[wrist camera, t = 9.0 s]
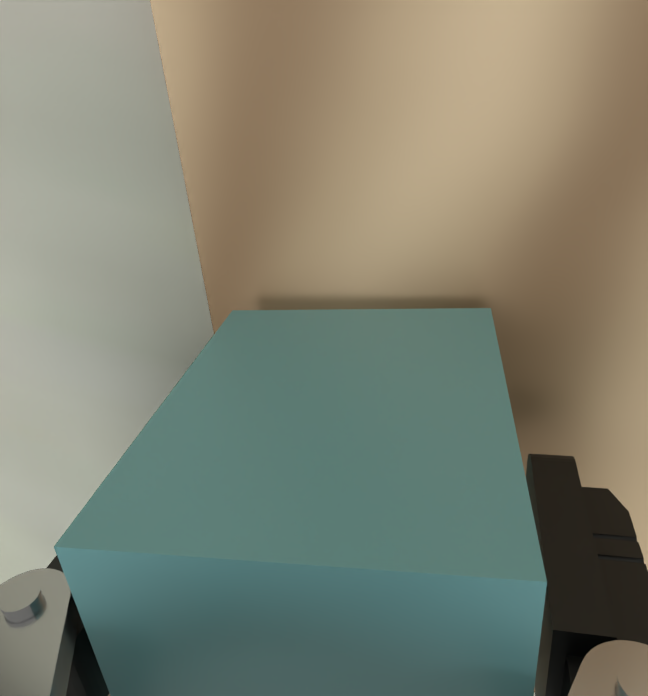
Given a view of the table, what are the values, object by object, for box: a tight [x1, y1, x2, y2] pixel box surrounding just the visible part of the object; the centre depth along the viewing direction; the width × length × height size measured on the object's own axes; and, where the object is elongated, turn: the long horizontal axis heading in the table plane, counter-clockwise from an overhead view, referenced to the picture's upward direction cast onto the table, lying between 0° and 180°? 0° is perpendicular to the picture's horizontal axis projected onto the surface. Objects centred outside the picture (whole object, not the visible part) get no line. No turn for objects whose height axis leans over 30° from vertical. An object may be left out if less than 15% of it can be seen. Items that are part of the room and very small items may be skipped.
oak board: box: [150, 0, 648, 692], centre depth 12 cm, size 16×25×1 cm, turn 5°
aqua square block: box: [54, 308, 547, 696], centre depth 10 cm, size 5×5×7 cm
